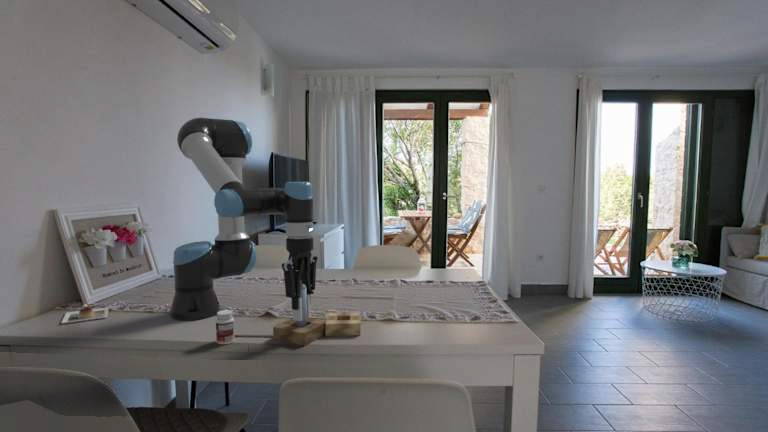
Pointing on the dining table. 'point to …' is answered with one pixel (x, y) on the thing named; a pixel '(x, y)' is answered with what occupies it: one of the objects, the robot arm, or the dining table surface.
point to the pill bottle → (225, 327)
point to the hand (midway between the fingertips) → (301, 318)
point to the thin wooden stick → (254, 335)
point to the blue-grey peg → (303, 306)
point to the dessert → (85, 314)
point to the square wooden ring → (299, 331)
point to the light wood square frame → (343, 324)
